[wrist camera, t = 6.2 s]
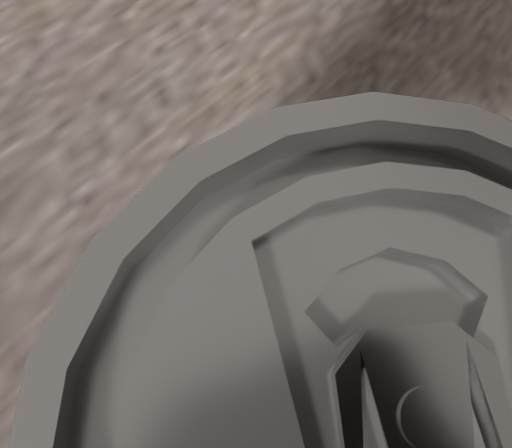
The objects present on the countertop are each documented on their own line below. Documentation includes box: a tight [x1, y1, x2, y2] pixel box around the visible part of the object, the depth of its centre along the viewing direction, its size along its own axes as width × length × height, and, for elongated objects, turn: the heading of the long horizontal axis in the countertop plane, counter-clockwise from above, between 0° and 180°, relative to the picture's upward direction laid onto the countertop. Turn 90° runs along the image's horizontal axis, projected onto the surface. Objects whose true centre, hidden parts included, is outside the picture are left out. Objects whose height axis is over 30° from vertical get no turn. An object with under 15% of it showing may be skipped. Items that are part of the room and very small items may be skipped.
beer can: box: [8, 92, 512, 448], centre depth 8 cm, size 5×5×12 cm
